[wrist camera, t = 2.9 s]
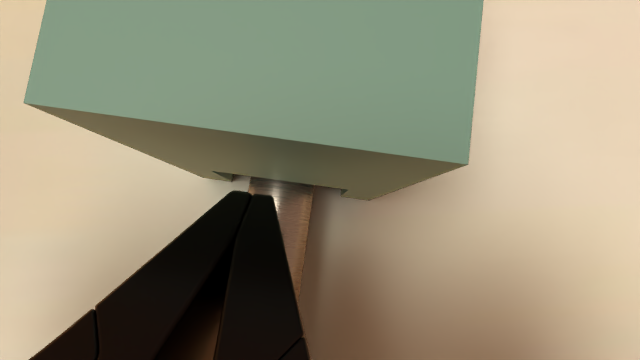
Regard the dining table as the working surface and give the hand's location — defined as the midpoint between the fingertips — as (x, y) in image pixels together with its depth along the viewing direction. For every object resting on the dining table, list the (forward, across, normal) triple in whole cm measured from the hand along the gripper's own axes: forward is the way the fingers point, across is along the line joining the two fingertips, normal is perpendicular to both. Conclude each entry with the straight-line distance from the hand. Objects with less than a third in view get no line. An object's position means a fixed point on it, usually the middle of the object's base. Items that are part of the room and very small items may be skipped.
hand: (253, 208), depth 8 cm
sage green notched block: (+9, 0, +2) cm, 10 cm away
